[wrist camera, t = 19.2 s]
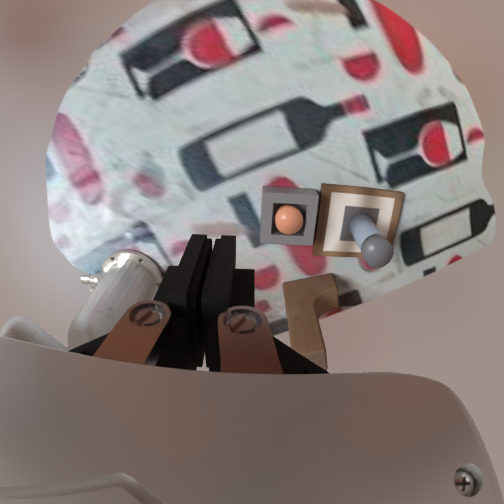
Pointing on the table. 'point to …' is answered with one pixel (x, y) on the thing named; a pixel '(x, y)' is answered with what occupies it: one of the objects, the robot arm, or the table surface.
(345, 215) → the picture frame
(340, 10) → the table surface
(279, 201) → the button housing
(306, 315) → the wooden block
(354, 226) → the grey capped shaker
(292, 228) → the button
